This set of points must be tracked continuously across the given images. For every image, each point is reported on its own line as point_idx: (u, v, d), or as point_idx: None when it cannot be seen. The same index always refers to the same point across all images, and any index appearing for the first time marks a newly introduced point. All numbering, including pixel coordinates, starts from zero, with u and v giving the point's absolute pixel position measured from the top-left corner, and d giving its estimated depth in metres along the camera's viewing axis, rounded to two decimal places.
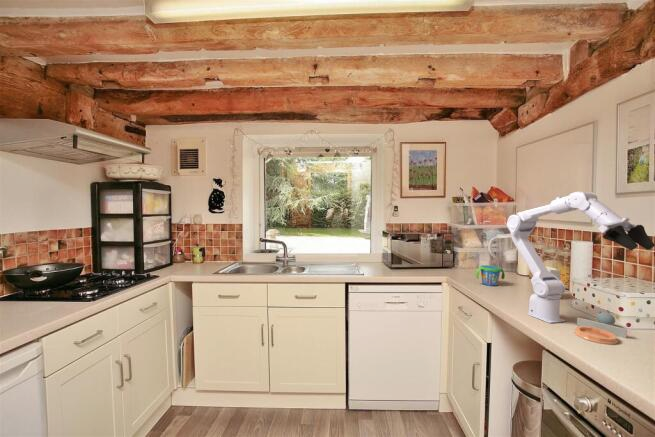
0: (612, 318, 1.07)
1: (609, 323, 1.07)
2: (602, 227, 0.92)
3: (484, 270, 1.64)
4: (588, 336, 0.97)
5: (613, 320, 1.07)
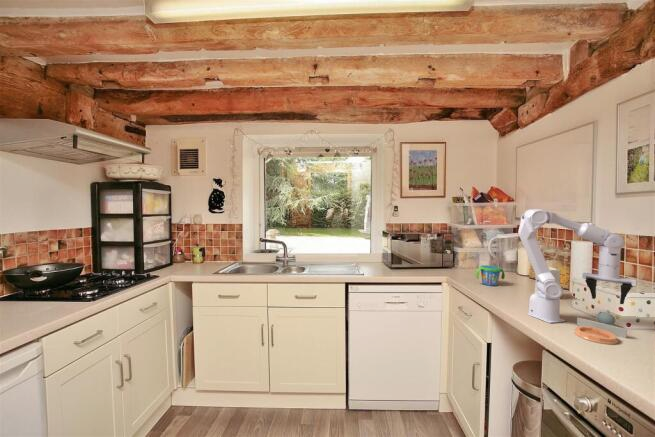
0: (612, 318, 1.07)
1: (609, 323, 1.07)
2: (636, 282, 1.03)
3: (484, 270, 1.64)
4: (588, 336, 0.97)
5: (613, 320, 1.07)
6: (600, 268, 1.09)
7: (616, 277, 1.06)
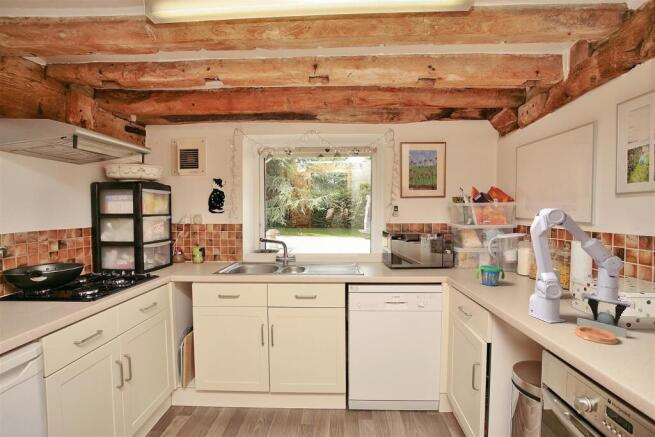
0: (612, 318, 1.07)
1: (609, 323, 1.07)
2: None
3: (484, 270, 1.64)
4: (588, 336, 0.97)
5: (613, 320, 1.07)
6: (599, 289, 1.09)
7: (615, 299, 1.06)
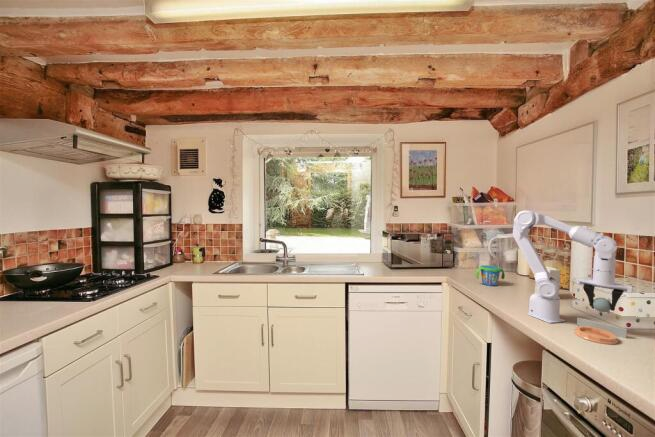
0: (608, 303, 1.02)
1: (605, 309, 1.02)
2: (632, 288, 0.99)
3: (484, 270, 1.64)
4: (588, 336, 0.97)
5: (610, 305, 1.02)
6: (595, 274, 1.04)
7: (611, 283, 1.01)
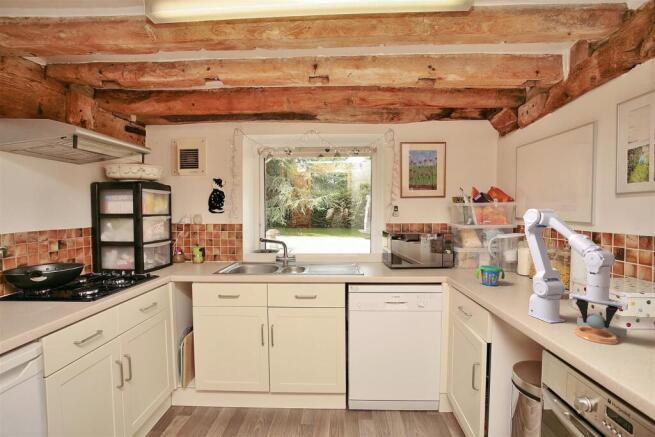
0: (603, 320, 0.97)
1: (599, 326, 0.97)
2: (627, 305, 0.94)
3: (484, 270, 1.64)
4: (588, 336, 0.97)
5: (604, 323, 0.97)
6: (588, 289, 0.99)
7: (605, 299, 0.96)
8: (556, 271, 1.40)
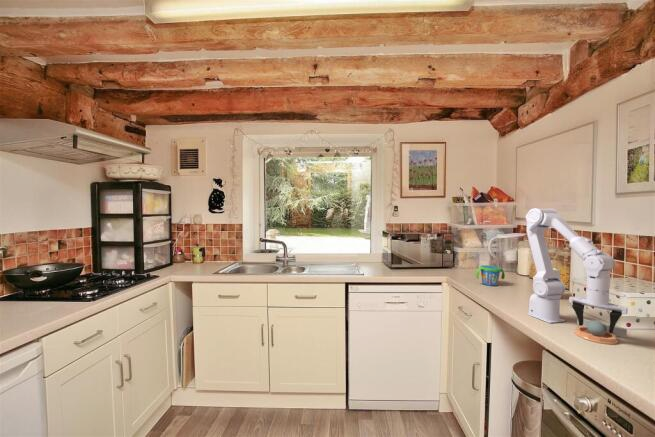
0: (603, 328, 0.97)
1: (599, 333, 0.97)
2: (627, 310, 0.94)
3: (484, 270, 1.64)
4: (588, 336, 0.97)
5: (604, 330, 0.97)
6: (588, 293, 0.99)
7: (605, 303, 0.96)
8: (556, 271, 1.40)
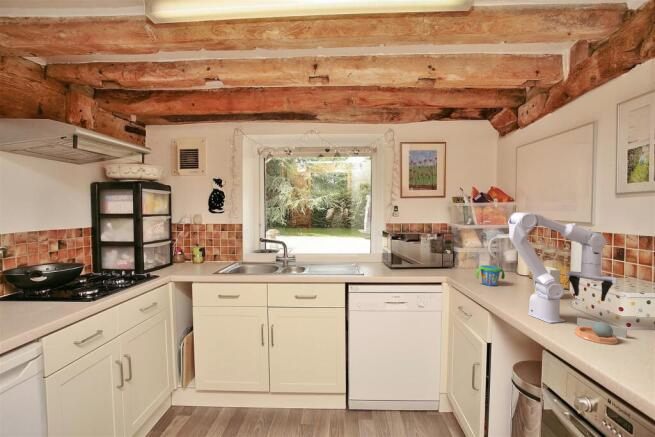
0: (610, 333, 0.96)
1: (602, 335, 0.97)
2: (616, 279, 1.06)
3: (484, 270, 1.64)
4: (588, 336, 0.97)
5: (609, 335, 0.96)
6: (582, 266, 1.12)
7: (597, 275, 1.09)
8: (556, 271, 1.40)
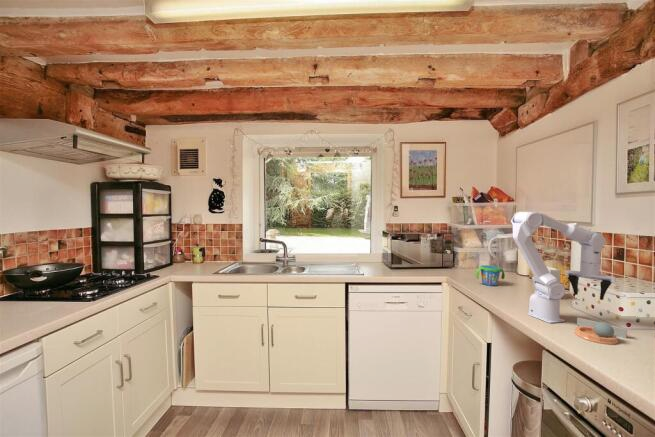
0: (611, 335, 0.96)
1: (603, 336, 0.97)
2: (615, 279, 1.08)
3: (484, 270, 1.64)
4: (588, 336, 0.97)
5: (610, 336, 0.96)
6: (582, 265, 1.14)
7: (596, 274, 1.11)
8: (556, 271, 1.40)
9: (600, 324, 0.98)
